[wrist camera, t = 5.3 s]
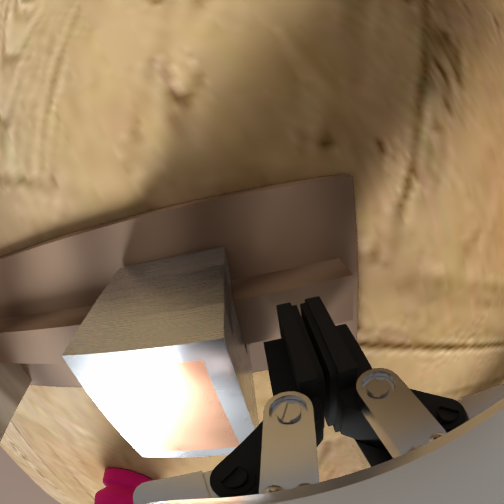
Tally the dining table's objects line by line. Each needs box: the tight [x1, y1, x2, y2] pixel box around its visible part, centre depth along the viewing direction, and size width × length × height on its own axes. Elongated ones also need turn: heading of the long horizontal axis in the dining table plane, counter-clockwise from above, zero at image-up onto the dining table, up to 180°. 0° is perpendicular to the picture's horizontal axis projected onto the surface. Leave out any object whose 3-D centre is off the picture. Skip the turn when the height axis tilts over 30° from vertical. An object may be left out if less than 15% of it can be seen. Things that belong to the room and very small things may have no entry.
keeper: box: [62, 247, 259, 458], centre depth 11 cm, size 5×6×6 cm
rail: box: [0, 173, 358, 441], centre depth 11 cm, size 26×10×8 cm, turn 100°
